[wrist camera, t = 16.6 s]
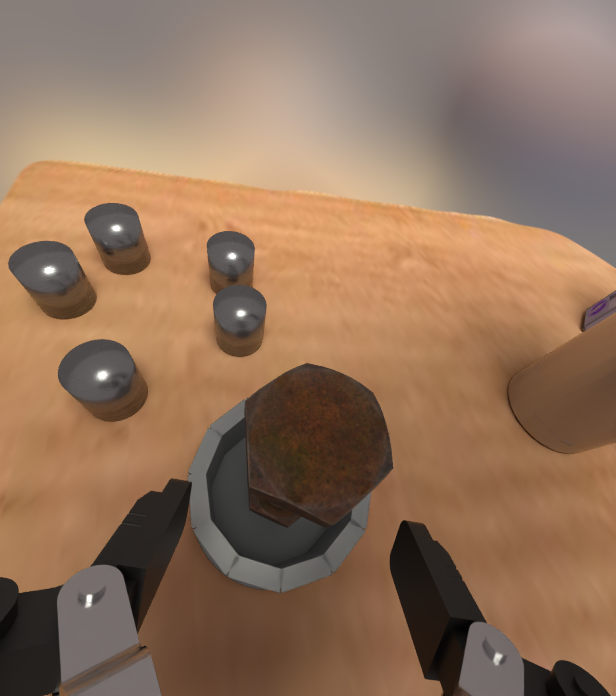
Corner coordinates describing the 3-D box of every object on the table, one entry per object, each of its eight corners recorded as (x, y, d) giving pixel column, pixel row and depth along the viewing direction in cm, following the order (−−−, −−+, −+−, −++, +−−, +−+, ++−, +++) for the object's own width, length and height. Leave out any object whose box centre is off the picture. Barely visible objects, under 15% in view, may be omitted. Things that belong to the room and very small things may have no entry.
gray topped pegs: (188, 218, 38) (182, 178, 34) (298, 321, 33) (306, 289, 29) (2, 290, 29) (-37, 247, 25) (116, 448, 24) (91, 427, 20)
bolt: (262, 553, 22) (299, 561, 9) (223, 488, 23) (207, 419, 11) (327, 496, 24) (423, 441, 12) (287, 441, 26) (335, 341, 13)
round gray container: (279, 389, 29) (288, 356, 24) (379, 493, 26) (413, 480, 21) (157, 488, 23) (136, 472, 18) (267, 637, 20) (278, 667, 15)
